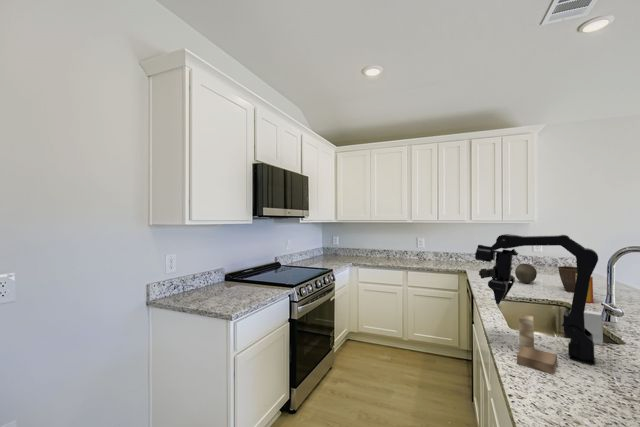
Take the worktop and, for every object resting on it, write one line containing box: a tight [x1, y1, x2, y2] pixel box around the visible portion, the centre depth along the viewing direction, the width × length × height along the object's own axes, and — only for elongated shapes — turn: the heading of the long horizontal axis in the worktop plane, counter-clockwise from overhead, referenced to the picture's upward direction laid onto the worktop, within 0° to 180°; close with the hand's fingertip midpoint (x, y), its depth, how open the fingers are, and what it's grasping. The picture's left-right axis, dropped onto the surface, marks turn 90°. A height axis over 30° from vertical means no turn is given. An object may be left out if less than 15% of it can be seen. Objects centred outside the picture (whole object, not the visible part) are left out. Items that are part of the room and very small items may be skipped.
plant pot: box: [557, 265, 577, 294], centre depth 200 cm, size 15×15×16 cm
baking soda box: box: [575, 273, 594, 304], centre depth 177 cm, size 10×6×16 cm
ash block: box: [518, 314, 535, 350], centre depth 114 cm, size 4×6×12 cm
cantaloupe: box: [514, 263, 538, 284], centre depth 226 cm, size 14×14×15 cm
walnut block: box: [516, 346, 558, 375], centre depth 102 cm, size 10×10×4 cm
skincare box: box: [584, 309, 604, 346], centre depth 119 cm, size 6×4×12 cm
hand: (500, 301), depth 122 cm, fingers open, 9 cm apart
